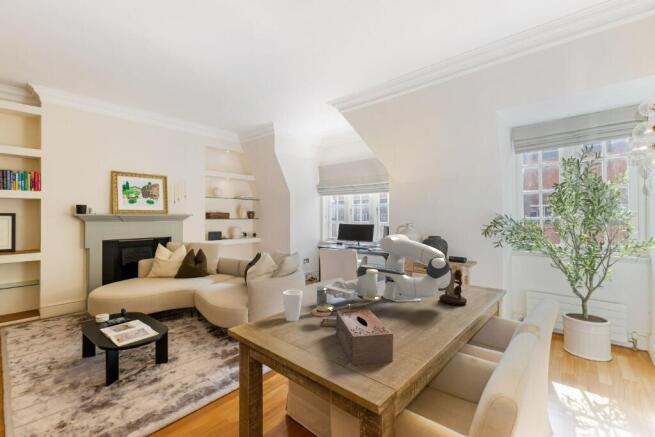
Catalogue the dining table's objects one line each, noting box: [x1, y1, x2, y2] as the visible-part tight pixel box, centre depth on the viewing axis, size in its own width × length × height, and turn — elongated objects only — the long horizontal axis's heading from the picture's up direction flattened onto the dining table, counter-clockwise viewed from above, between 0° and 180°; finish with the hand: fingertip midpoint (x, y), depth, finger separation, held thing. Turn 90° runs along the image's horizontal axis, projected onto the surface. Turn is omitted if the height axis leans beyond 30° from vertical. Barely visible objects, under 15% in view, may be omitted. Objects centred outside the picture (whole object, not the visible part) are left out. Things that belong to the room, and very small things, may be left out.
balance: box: [316, 294, 381, 328], centre depth 131 cm, size 29×8×14 cm, turn 84°
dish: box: [311, 307, 332, 318], centre depth 146 cm, size 10×10×1 cm
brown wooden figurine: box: [438, 267, 468, 307], centre depth 167 cm, size 15×15×20 cm
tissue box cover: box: [335, 308, 394, 366], centre depth 110 cm, size 26×14×10 cm, turn 11°
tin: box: [316, 285, 328, 313], centre depth 146 cm, size 5×5×12 cm
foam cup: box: [282, 289, 303, 322], centre depth 138 cm, size 10×9×13 cm
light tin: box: [366, 269, 379, 298], centre depth 130 cm, size 5×5×12 cm
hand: (328, 294), depth 150 cm, fingers open, 8 cm apart
